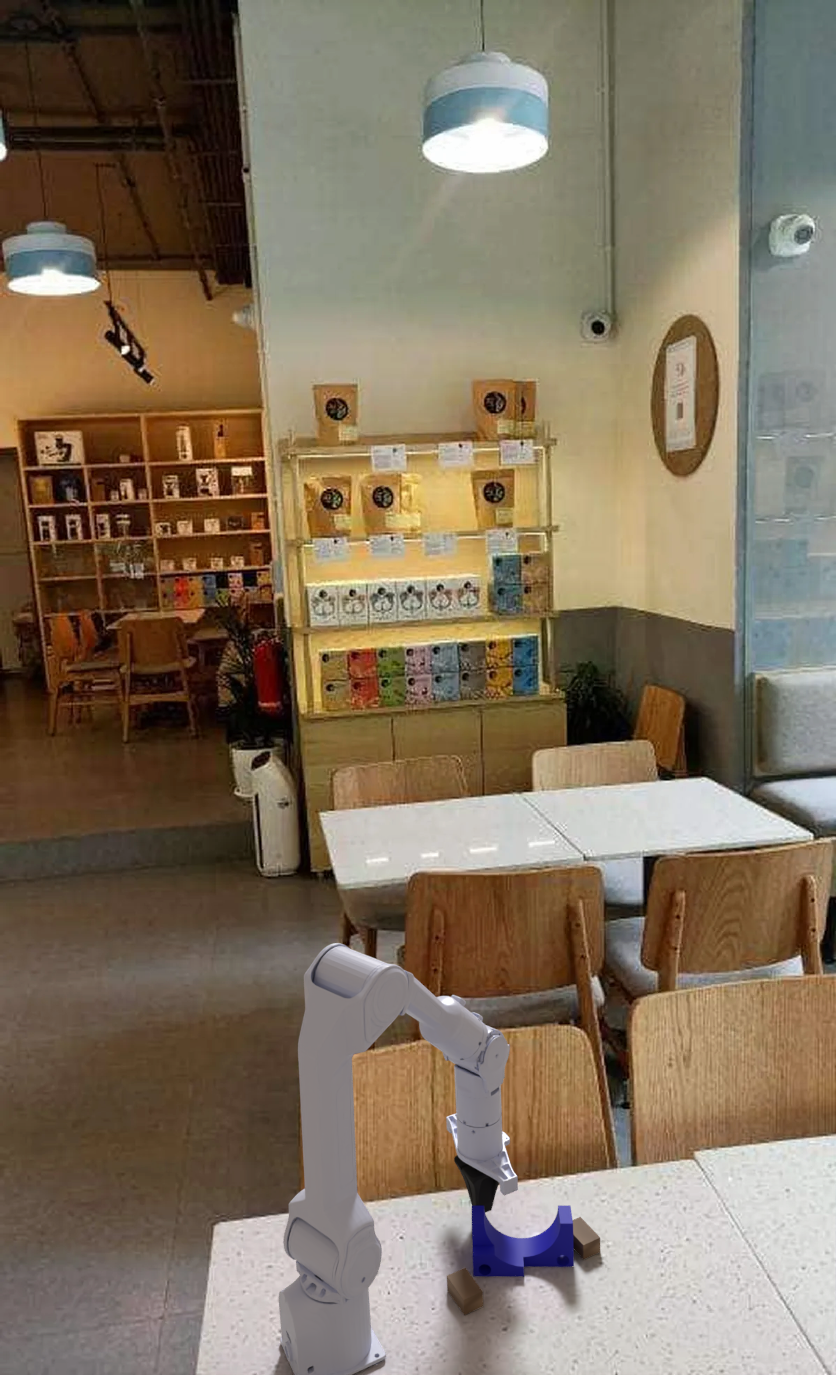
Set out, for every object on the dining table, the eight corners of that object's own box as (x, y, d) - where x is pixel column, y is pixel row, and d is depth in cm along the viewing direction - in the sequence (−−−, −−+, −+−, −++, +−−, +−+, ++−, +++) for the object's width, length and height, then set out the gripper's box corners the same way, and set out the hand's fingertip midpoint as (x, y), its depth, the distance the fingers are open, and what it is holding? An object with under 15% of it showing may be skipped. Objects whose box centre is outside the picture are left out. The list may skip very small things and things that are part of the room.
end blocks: (464, 1315, 107) (463, 1300, 107) (447, 1290, 111) (446, 1275, 110) (600, 1251, 115) (600, 1237, 115) (580, 1230, 119) (580, 1216, 119)
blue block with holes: (473, 1277, 113) (471, 1232, 112) (473, 1248, 117) (471, 1205, 116) (575, 1277, 112) (574, 1232, 111) (571, 1249, 116) (570, 1205, 115)
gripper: (537, 1135, 115) (540, 1234, 117) (477, 1075, 127) (480, 1165, 130) (487, 1154, 111) (491, 1256, 114) (430, 1091, 124) (435, 1183, 127)
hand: (482, 1209), depth 122 cm, fingers closed
